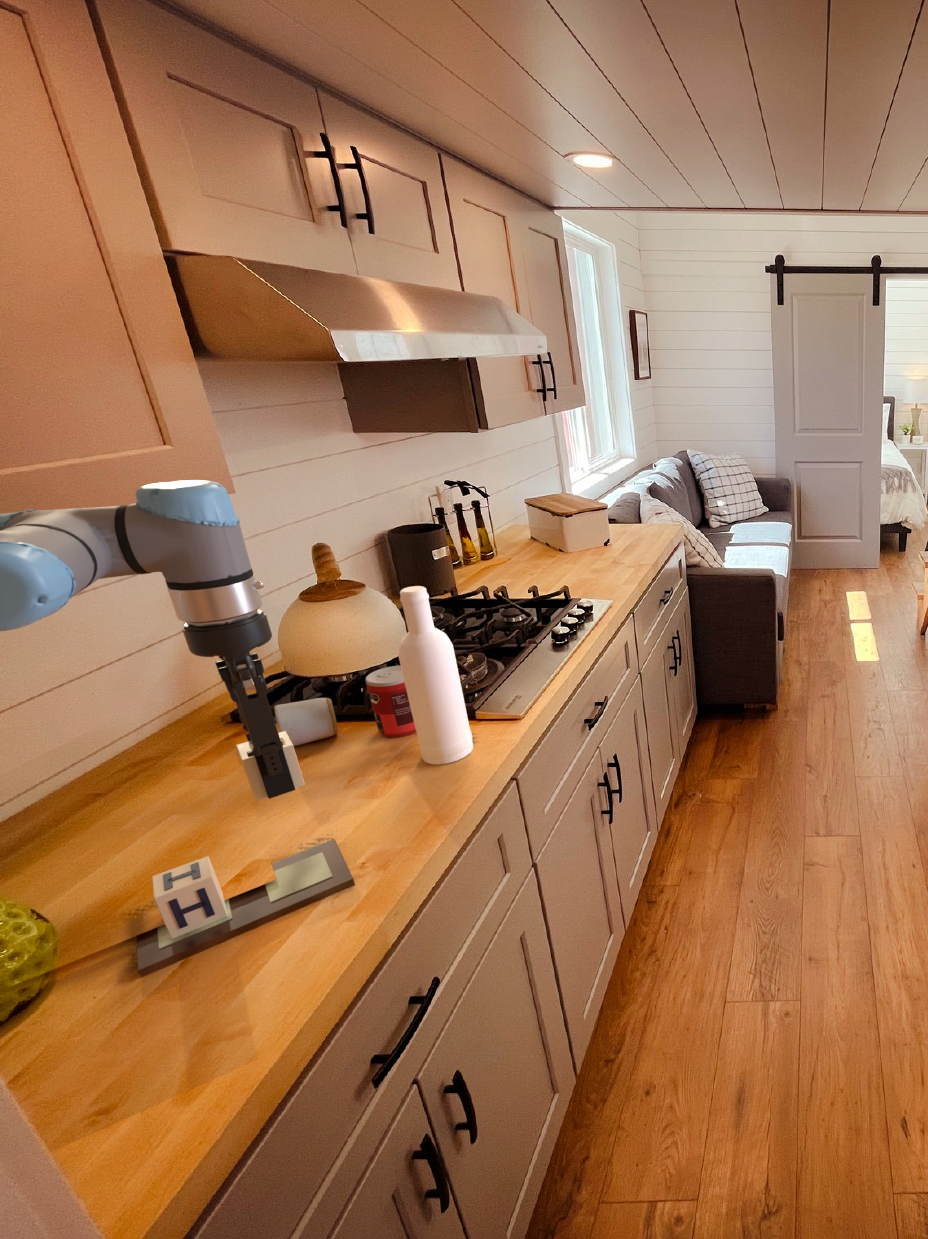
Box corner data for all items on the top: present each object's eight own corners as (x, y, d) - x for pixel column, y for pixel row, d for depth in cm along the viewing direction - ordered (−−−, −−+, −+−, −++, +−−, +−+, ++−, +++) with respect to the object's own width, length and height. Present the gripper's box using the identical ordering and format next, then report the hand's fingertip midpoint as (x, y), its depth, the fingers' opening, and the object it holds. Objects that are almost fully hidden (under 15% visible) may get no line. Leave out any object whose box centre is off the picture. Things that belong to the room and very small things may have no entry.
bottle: (425, 770, 112) (385, 600, 101) (419, 750, 118) (380, 587, 107) (478, 755, 116) (445, 590, 106) (469, 736, 122) (437, 578, 112)
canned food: (389, 719, 128) (376, 666, 124) (435, 715, 129) (423, 663, 125) (370, 740, 121) (356, 684, 117) (419, 736, 122) (406, 681, 118)
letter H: (171, 940, 78) (153, 898, 75) (168, 915, 81) (151, 875, 79) (228, 916, 81) (212, 876, 79) (223, 894, 84) (207, 854, 82)
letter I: (256, 802, 84) (241, 759, 82) (249, 785, 87) (235, 744, 85) (305, 785, 87) (292, 744, 85) (297, 769, 90) (285, 729, 88)
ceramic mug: (342, 740, 120) (332, 701, 118) (285, 755, 115) (272, 715, 113) (335, 718, 128) (325, 681, 125) (281, 732, 123) (269, 694, 120)
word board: (141, 977, 74) (137, 970, 74) (137, 922, 81) (134, 915, 81) (355, 884, 87) (353, 878, 87) (336, 844, 95) (334, 837, 94)
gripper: (277, 627, 76) (328, 801, 84) (251, 590, 87) (298, 746, 95) (188, 645, 70) (251, 829, 79) (173, 604, 82) (229, 767, 90)
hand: (277, 783), depth 87 cm, fingers closed on letter I, 5 cm apart
